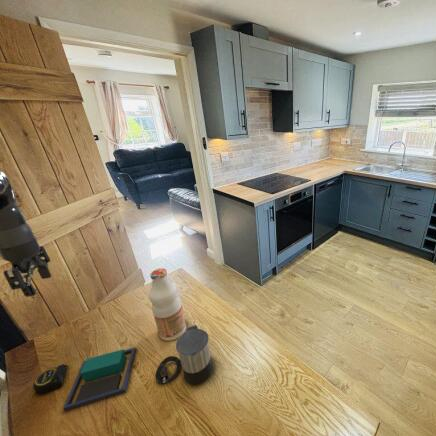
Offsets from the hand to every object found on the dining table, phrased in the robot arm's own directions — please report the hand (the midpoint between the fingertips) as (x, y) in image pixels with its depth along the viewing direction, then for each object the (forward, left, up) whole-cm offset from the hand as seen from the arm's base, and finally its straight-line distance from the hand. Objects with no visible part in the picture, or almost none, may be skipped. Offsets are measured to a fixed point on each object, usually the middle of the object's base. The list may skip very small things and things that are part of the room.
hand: (39, 286), depth 72 cm
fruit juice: (+33, -4, -28) cm, 44 cm away
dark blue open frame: (+14, -16, -28) cm, 35 cm away
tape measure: (0, -12, -28) cm, 31 cm away
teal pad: (+14, -14, -28) cm, 34 cm away
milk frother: (+38, -23, -28) cm, 53 cm away
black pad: (+14, -20, -28) cm, 37 cm away
